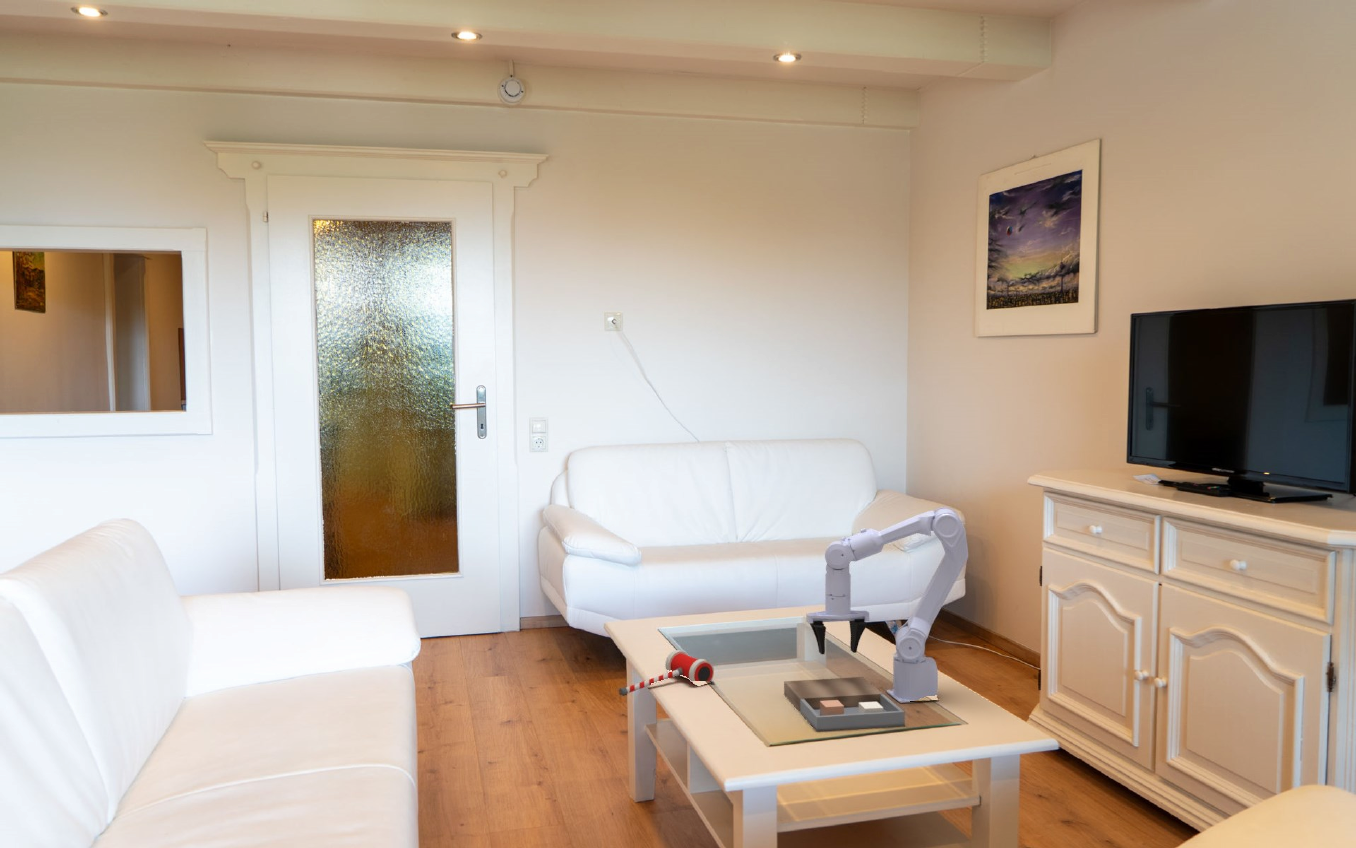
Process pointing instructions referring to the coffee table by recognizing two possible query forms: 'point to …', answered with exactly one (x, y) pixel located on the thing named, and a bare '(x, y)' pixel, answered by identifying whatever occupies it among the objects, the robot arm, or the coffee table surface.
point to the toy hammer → (678, 671)
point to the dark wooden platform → (831, 691)
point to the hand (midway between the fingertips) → (837, 652)
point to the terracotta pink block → (831, 708)
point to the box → (855, 717)
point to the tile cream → (870, 707)
